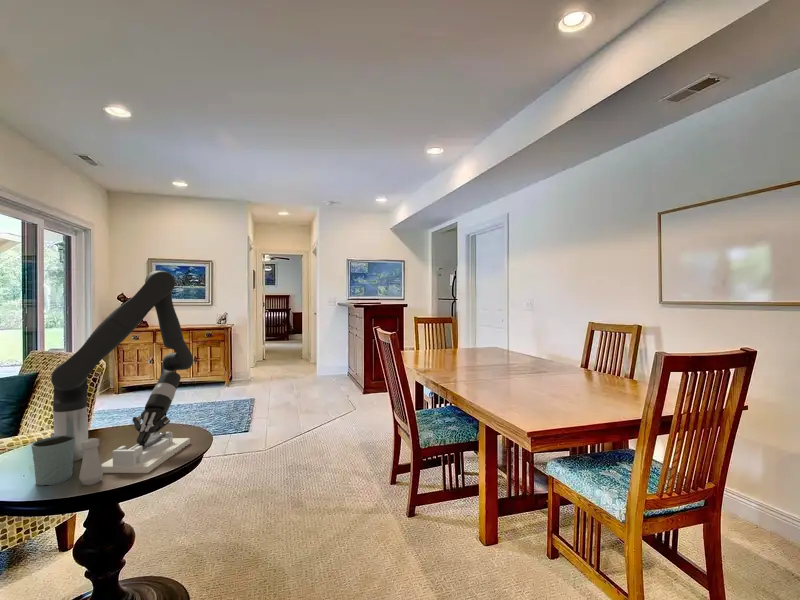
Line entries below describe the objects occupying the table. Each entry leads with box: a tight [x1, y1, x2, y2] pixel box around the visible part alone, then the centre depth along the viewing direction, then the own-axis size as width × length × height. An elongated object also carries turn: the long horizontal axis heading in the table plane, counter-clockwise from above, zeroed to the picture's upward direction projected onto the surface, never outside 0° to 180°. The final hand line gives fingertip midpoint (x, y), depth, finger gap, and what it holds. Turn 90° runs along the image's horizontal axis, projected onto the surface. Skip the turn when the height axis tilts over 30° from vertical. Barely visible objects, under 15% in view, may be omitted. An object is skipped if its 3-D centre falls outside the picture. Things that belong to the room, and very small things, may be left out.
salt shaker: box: [78, 437, 104, 486], centre depth 124 cm, size 6×6×13 cm
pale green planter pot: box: [30, 435, 75, 486], centre depth 127 cm, size 10×10×12 cm
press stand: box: [101, 431, 191, 474], centre depth 143 cm, size 16×25×7 cm, turn 179°
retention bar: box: [129, 432, 166, 450], centre depth 143 cm, size 3×19×1 cm, turn 179°
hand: (140, 443), depth 140 cm, fingers closed
